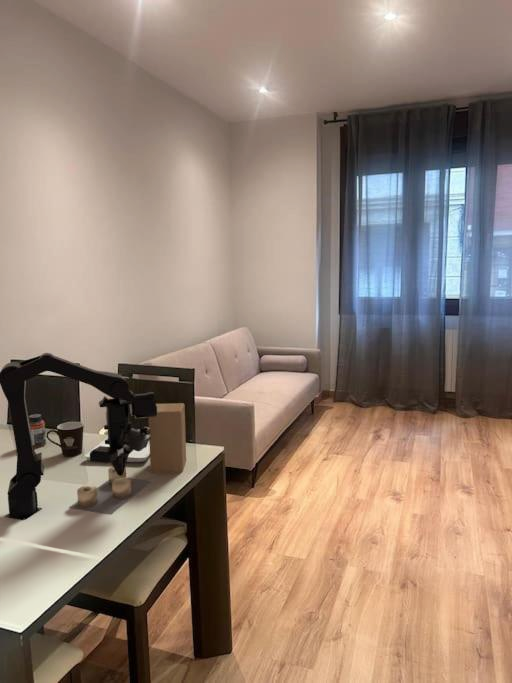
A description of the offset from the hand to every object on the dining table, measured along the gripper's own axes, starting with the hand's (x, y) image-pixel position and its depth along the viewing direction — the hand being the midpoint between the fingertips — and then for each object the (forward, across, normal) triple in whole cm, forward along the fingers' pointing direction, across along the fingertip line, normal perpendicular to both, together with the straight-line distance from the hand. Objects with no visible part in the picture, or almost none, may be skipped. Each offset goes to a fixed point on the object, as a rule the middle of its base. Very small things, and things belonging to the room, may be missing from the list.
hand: (120, 475), depth 134 cm
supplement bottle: (+7, +27, +53) cm, 60 cm away
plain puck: (+6, 0, 0) cm, 6 cm away
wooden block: (+7, +22, -3) cm, 23 cm away
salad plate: (+7, +29, +17) cm, 34 cm away
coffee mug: (+7, +24, +37) cm, 45 cm away
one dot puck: (+6, -7, +6) cm, 11 cm away
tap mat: (+6, 0, +3) cm, 7 cm away
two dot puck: (+6, +7, +6) cm, 11 cm away
